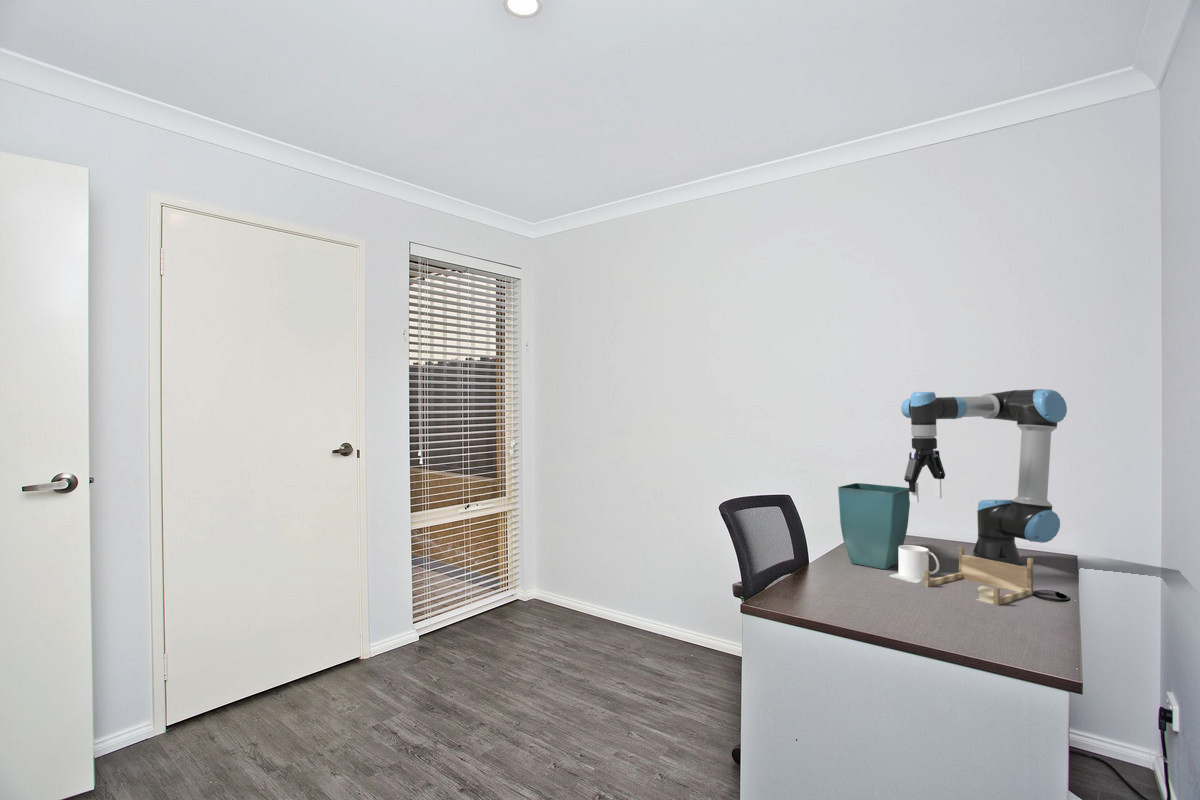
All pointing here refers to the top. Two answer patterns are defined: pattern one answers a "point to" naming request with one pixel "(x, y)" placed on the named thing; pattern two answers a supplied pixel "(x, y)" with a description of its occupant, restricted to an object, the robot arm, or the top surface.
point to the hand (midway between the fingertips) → (925, 499)
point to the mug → (914, 561)
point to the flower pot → (873, 522)
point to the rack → (991, 576)
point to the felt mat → (905, 578)
